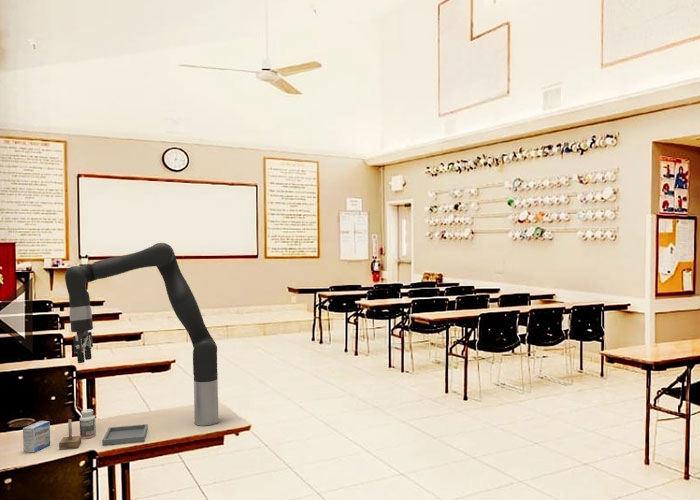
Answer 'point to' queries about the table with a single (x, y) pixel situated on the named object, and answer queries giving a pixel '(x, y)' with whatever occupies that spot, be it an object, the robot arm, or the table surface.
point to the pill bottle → (87, 424)
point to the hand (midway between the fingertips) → (84, 361)
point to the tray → (125, 435)
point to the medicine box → (36, 436)
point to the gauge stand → (70, 439)
